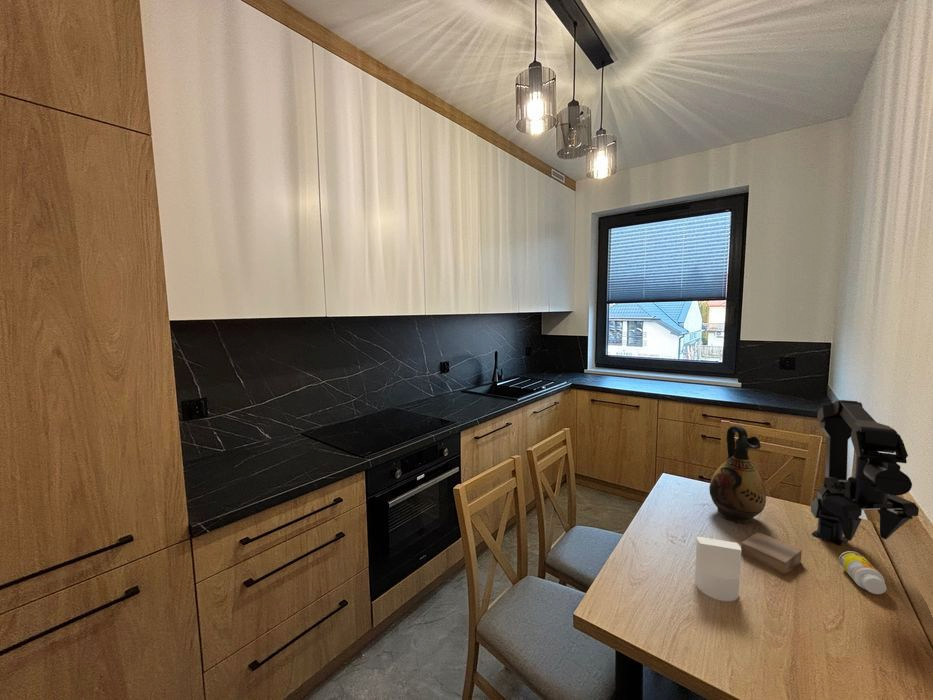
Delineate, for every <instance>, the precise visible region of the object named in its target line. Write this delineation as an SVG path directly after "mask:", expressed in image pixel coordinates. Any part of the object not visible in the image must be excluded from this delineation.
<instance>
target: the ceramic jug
mask: <svg viewBox="0 0 933 700" xmlns="http://www.w3.org/2000/svg"><path fill="white" fill-rule="evenodd" d="M736 433H737V436H738V438H737V439H736V438H735V436H736ZM748 435H749V434H748V433H747V431H746V429H745V428H744V427H743V426H740V425H731V426H730V427H729V428H728V429H727V432H726V444H727V445H726V446H727V448H726V449H727V458H726V459H725V461H724V462H723V463H722V464H721V465H720V466H719V467H718V468H717V469H716V470H715V472H714V473H713V476H712V477H711V480H710V483H709V488H708V489H709V495H710V497H711V501H712V503H713V504H714V505H715V507H716V508H717V514H719V515H720V516H721V517H722V518H724V519H725V520H727V521H731V522H734V523H737V524H747V523H750V522H751V521H752V519H753V518H755V517H756V516H758V515H759V514H760V513H762V512H763V511H764V509H765V507H766V504H767V493H766V488H765V484H764V481H763V479H762V477H761V476H760V474H759V472H758V470H757V468H756V466H754V464H753V462H752V461H751V458H750V457H749V455H748V454H749V452H748V451H749V450H760V449H761V447H762V446H761V443H760V442H761V441H760V440H759V439H758V437H757V436H750V437H748Z"/></svg>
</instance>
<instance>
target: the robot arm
mask: <svg viewBox="0 0 933 700" xmlns="http://www.w3.org/2000/svg"><path fill="white" fill-rule="evenodd" d="M816 419H817V421H818V423H819V428H820V429H821V431H822V432H823V434H824V435H825V437H826V443H825V448H826V449H825V471H824V472H825V473H824V475H825V476H824V478H823V485H822V487H820V488H819V489H818V491H816V492H817V493H816V494H817V495H816V497H815V499H814V500H813V501H812V502H811V503H810V511H811V513H812V515H813V517H814V518H815V519H817V527H816V530H814V531H813V532H812V533H811V535H812V536H813V535H814V536H813V537H816V538H818V537H819V539H821V538H822V539H821V540H823V539H825V540H824V541H826V540H827V541H826V542H828V541H830V542H829V543H831V542H832V543H831V544H833V543H834V545H836V546H842V545H844V544H845V543H846V542H847V541H852V540H853V539H854V536H855V534H856V532H857V531H858V529H859V526H860V524H861V522H862V518H860V517H861V516H862V512H863V511H871V510H874V511H875V510H877V512H878V514H879V536H880V538H881V539H883V540H888V539H889V538H890V537H891V536H892V535H893V534H894V533H895V532H896V531H897V530H899V528H900V527H902V526H903V525H905V524H906V523H907V522H908V521H909V520H913V518H914V517H918V516H919V511H920V509H919V506H917V504H916V503H915V502H913V501H911V500H908V499H906V498H903V497H901V496H903V495H905V494H907V493H909V492H910V491H911V490H912V487H913V483H912V481H911V478H910V477H909V476H908V474H906V473H904V472H903V471H902V470H901V465H900V464H907V463H908V461H907V458H909V454H908V452H907V449H906V446H905V444H904V440H903V439H902V437H901V435H900V434H899V433H898V432H897V431H896V430H895V429H894V428H893V427H891V426H889V425H886V424H883V423H880V422H877V421H876V420H875V419H874V417H873V416H872V415H870V413H868V412H867V410H865V408H863V404H862V402H861V401H858V400H849V399H848V400H846V399H838V400H835V401H833V402H832V403H830V404H825V405H822V406H821V407H820V409H818V410H817V418H816ZM849 439H850V440H851V443H852V446H853V449H854V452H855V455H856V459H855V468H854V476H849V477H848V452H849V450H848V448H849V446H848V445H849ZM847 478H848V479H847Z"/></svg>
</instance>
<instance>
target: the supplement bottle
mask: <svg viewBox="0 0 933 700" xmlns="http://www.w3.org/2000/svg"><path fill="white" fill-rule="evenodd" d="M838 562H839V565H840V566H841V567H842V568H843V570H845V572H846V573H847V574H848V575H849V577H850V578H851V579H852V580H853V581H854V582H855V583H856V585H857V586H858V587H860V588H861V589H863V590H866V591H867V592H869V593H870V594H874V595H882V594H884V593H885V592H886V591H887V585H886V582H885V580H886V579H885V578H884V576H883V575H882V573H881V572H880V571H879V570H878V569H876V567H874V565H872V564H871V563H870V562H869V560H868V559H866V557H864V555H862V554H860V553H859V552H856V551H851V550H848V551H847V550H846V551H845V552H842V553H841V554H840V556H839V557H838Z"/></svg>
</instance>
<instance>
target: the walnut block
mask: <svg viewBox="0 0 933 700" xmlns="http://www.w3.org/2000/svg"><path fill="white" fill-rule="evenodd" d="M740 547H741V556H743V557H745V558H747V559H749V560H752V561H754V562H756V563H757V564H759V565H762V566H765V567H767V568H769V569H770V570H773V571H775V572H776V573H777V572H778V573H779V574H781V575H783V576H786V575H787V574H788V573H789V572H791V571H793V569H794V568H796V567H797V566H798V565H800V564H801V562H802V551H803V550H802V549H800V548H797V547H795V546H794V545H793V546H792V545H790V544H788V543H785V542H783V541H780V540H778V539H776V538H774V537H771V536H769V535H766V534H764V533H761V532H759V531H758V532H757V531H756V533H754V534H753V535H751V536H749V537H748V538H746V539H745V540H744V541H742V542H741V545H740Z"/></svg>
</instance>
